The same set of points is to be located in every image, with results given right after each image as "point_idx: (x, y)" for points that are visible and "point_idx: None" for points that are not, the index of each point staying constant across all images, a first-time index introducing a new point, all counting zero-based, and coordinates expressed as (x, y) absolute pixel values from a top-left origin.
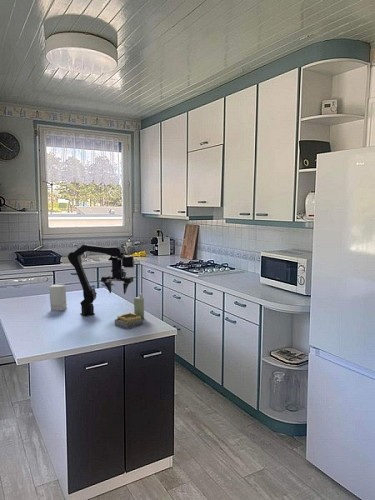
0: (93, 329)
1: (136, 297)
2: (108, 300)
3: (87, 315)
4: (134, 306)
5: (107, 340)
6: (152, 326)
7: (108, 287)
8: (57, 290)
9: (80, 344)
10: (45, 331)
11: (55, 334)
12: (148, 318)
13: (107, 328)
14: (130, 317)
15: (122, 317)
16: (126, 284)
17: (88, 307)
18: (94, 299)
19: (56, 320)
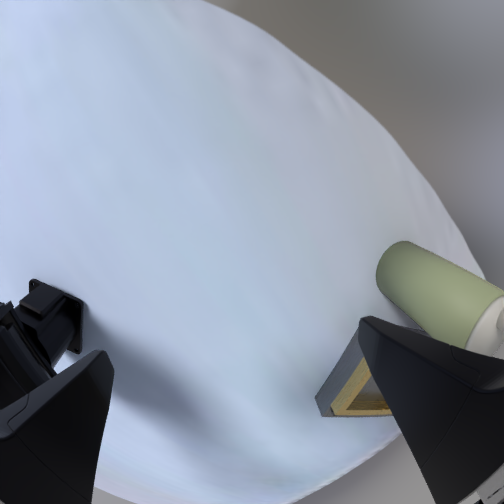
0: (258, 452)
1: (480, 337)
2: (12, 17)
3: (80, 346)
4: (428, 333)
5: (349, 465)
6: None
7: (91, 469)
8: None
9: (295, 493)
10: (135, 479)
11: (181, 487)
12: (436, 238)
13: (305, 430)
14: None
15: (367, 413)
16: (491, 420)
17: (56, 363)
18: (38, 368)
19: None
